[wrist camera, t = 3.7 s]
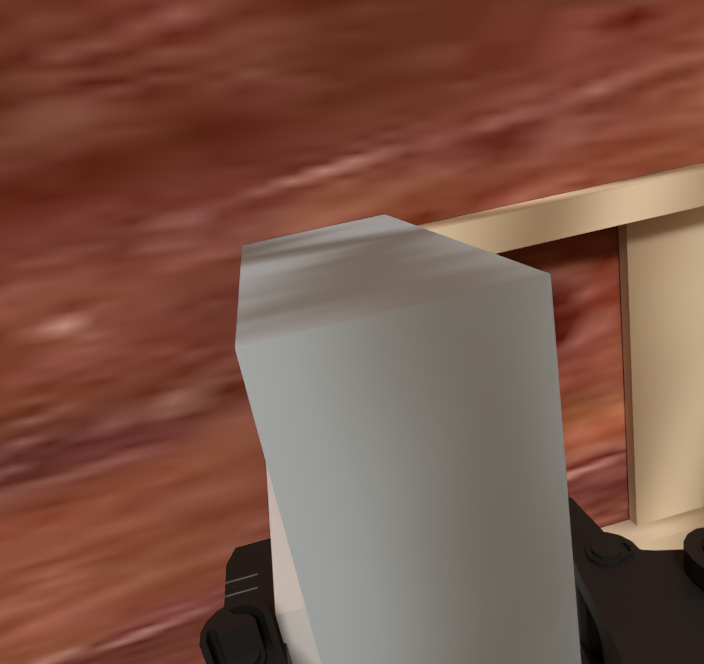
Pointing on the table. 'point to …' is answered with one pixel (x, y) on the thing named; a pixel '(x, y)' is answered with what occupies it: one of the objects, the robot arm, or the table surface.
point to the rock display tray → (464, 417)
